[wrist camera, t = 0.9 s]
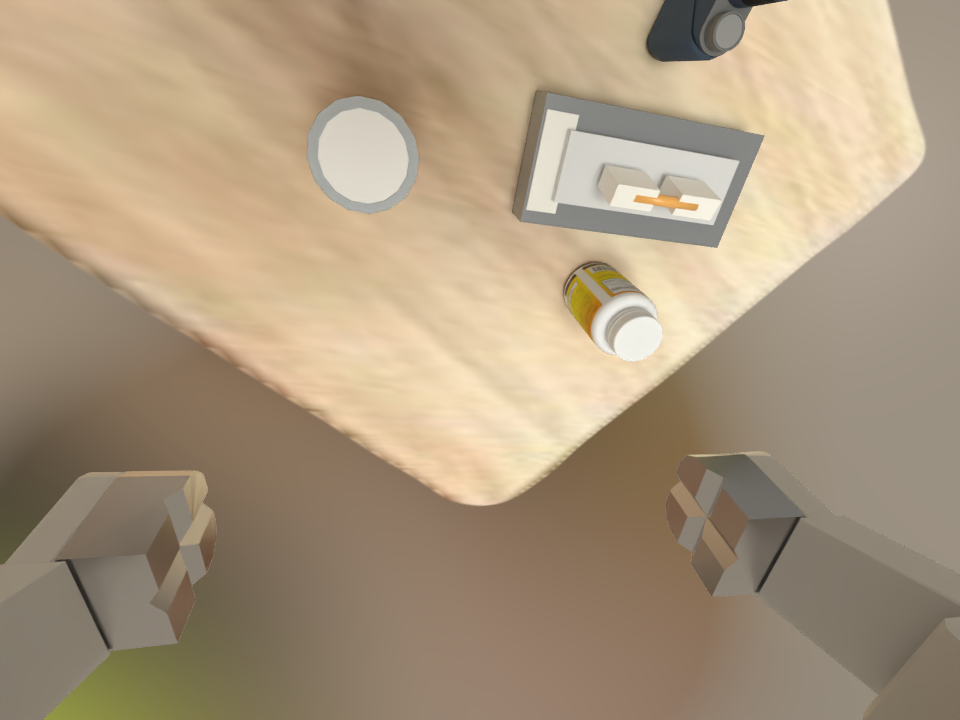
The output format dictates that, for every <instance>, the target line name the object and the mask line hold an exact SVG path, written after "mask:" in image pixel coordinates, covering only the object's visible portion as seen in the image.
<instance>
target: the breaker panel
mask: <svg viewBox="0 0 960 720" xmlns="http://www.w3.org/2000/svg"><path fill="white" fill-rule="evenodd" d="M763 138H764V135H759V134H754V133H749V132H744V131H738V130H733V129H728V128H723V127H718V126H713V125H708V124H703V123H698V122H693V121H688V120H683V119H678V118H673V117H668V116H663V115H658V114H653V113H648V112H643V111H638V110H633V109H628V108H623V107H618V106H613V105H608V104H603V103H598V102H593V101H588V100H583V99H578V98H573V97H568V96H563V95H558V94H553V93H548V92H541V91H536V94H535V99H534V104H533V110H532V115H531V120H530V125H529V130H528V135H527V140H526V145H525V150H524V155H523V160H522V165H521V170H520V175H519V180H518V185H517V190H516V195H515V200H514V205H513V210H512V213H513V214H514V215H515V216H516V217H517V218H518V219H519V221H520V222H527V223H534V224H542V225H549V226H557V227H564V228H572V229H579V230H587V231H594V232H602V233H609V234H617V235H625V236H632V237H640V238H647V239H655V240H662V241H670V242H677V243H685V244H692V245H700V246H707V247H715V248H717V247H718V245H719V242H720V240H721V237H722V235H723V233H724V230H725V228H726V226H727V223H728V221H729V219H730V216H731V214H732V211H733V209H734V207H735V204H736V202H737V200H738V197H739V195H740V193H741V190H742V188H743V185H744V183H745V181H746V178H747V176H748V174H749V171H750V169H751V167H752V164H753V162H754V160H755V157H756V155H757V152H758V150H759V148H760V145H761V143H762V141H763ZM606 165H609V166H615V167H620V168H626V169H632V170H638V171H644V172H646V173H647V174H648V176H649V177H650V178H651V180H652V181H653V182H654V183H655V185H656V186H657V187H658V188H659V190H660V188H661V186H662V184H663V182H664V180H665V178H666V176H667V175H668V176H674V177H680V178H686V179H692V180H698V181H704V182H705V183H706V184H707V185H708V186H709V187H710V189H711V190H712V191H713V192H714V193H715V194H716V195H717V196H718V197H719V198H720V199H721V200H722V201H721V203H720V205H719V206H718V208H717V210H716V211H715V213H714V215H713V216H712V218H711V220H703V219H696V218H689V217H683V216H676V215H672V214H671V213H670V212H669V210H668V209H667V208H666V207H661V206H654V205H653V207H652V209H651V211H650V212H649V211H642V210H635V209H628V208H621V207H615V206H609V204H608V202H607V201H606V199H605V197H604V196H603V194H602V192H601V191H600V189H599V188H598V183H599V181H600V178H601V176H602V173H603V171H604V168H605V166H606Z"/></svg>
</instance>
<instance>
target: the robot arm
mask: <svg viewBox="0 0 960 720" xmlns="http://www.w3.org/2000/svg"><path fill="white" fill-rule="evenodd" d="M677 474H678V476H679V478H680V480H681V481H680V482H679V483H678V484H677V485H676V486H674V487H673V488H672V489H671V490H670V492H669V495H668V498H667V501H666V517H667V521H668V525H669V527H670V530H671V532H672V534H673V535H674V537H675V539H676V540H677V542H678V543H679V544H681V545H682V546H684V547H685V548H687V549H688V550H690V551H691V552H692V556H691V565H692V566H693V568H694V569H695V571H696V573H697V574H698V575H699V577H700V579H701V580H702V582H703V584H704V585H705V587H706V588H707V590H708V591H709V593H710V595H711V596H712V597H717V596H735V595H753V594H758V596H757V597H758V598H759V599H760V600H762V601H763V602H764V603H765V604H767V605H768V606H769V607H770V608H771V609H773V610H774V611H775V612H777V613H778V614H779V615H780V616H781V617H783V618H784V619H785V620H786V621H788V622H789V623H790V624H791V625H792V626H794V627H795V628H796V629H797V630H799V631H800V632H801V633H802V634H804V635H805V636H806V637H807V638H809V639H810V640H811V641H812V642H814V643H815V644H816V645H817V646H818V647H820V648H821V649H822V650H823V651H825V652H826V653H827V654H828V655H830V656H831V657H832V658H833V659H835V660H836V661H837V662H838V663H839V664H841V665H842V666H843V667H845V668H846V669H847V670H848V671H849V672H851V673H852V674H853V675H854V676H856V677H857V678H858V679H859V680H861V681H862V682H863V683H864V684H866V685H867V686H868V687H869V688H871V689H872V690H873V691H874V692H875V693H877V694H878V696H877V697H876V698H875V699H874V700H873V701H872V702H871V704H870V705H869V706H868V707H867V708H866V709H865V711H864V712H863V720H960V574H959V573H957V572H955V571H954V570H952V569H949V568H948V567H946V566H943V565H941V564H940V563H937V562H936V561H934V560H932V559H930V558H927V557H926V556H924V555H922V554H920V553H918V552H915V551H914V550H912V549H910V548H907V547H906V546H903V545H901V544H900V543H898V542H896V541H893V540H892V539H890V538H888V537H886V536H884V535H881V534H879V533H878V532H876V531H874V530H871V529H870V528H868V527H866V526H864V525H861V524H859V523H858V522H856V521H853V520H851V519H850V518H847V517H846V516H835V515H834V514H833V513H832V512H831V511H830V510H829V509H828V508H827V507H826V506H825V505H824V504H823V503H822V502H821V501H819V499H817V498H816V497H815V496H814V495H813V494H812V493H811V492H810V491H809V490H808V489H807V488H806V487H805V486H804V485H803V484H802V483H800V481H799V480H798V479H796V478H795V477H794V476H793V475H792V474H791V473H790V472H789V471H788V470H787V469H786V468H785V467H784V466H783V465H782V464H781V463H780V462H779V461H778V460H777V459H776V458H775V457H773V456H772V455H770V454H768V453H765V452H763V451H759V452H740V453H736V454H735V453H729V454H704V455H687V456H685V458H683V459H682V460H681V462H680V464H679V467H678V470H677ZM207 491H208V488H207V484H206V481H205V478H204V474H202V473H200V472H198V471H127V472H94V473H92V472H91V473H88V474H85V475H84V476H81V477H79V478H78V479H77V480H76V481H75V482H74V483H73V485H72V486H71V487H70V488H69V489H68V490H67V492H66V493H65V494H64V495H63V496H62V497H61V499H60V500H59V501H58V502H57V503H56V504H55V506H54V507H53V508H52V509H51V510H50V511H49V513H48V514H47V515H46V516H45V517H44V518H43V519H42V521H41V522H40V523H39V524H38V525H37V526H36V528H35V529H34V530H33V531H32V532H31V534H30V535H29V536H28V537H27V538H26V539H25V541H24V542H23V543H22V544H21V545H20V546H19V548H18V549H17V550H16V551H15V552H14V553H13V555H12V556H11V557H10V558H9V559H8V560H7V561H6V563H5V564H4V565H0V720H43V719H44V718H45V717H46V716H47V715H48V714H49V713H50V712H51V711H52V710H53V709H54V708H55V707H56V706H58V704H60V703H61V702H62V701H63V699H65V698H66V697H67V696H68V695H69V694H70V693H71V692H72V691H73V690H74V689H75V688H76V687H77V686H78V685H79V684H80V683H81V682H82V681H83V680H84V679H85V678H86V677H87V676H88V675H89V674H90V673H91V672H93V671H94V670H95V668H97V667H98V666H99V665H100V663H102V662H103V661H104V660H105V659H106V658H107V657H108V656H109V655H110V653H109V651H114V650H122V649H131V648H140V647H149V646H158V645H166V644H175V643H178V641H179V639H180V636H181V634H182V632H183V629H184V627H185V624H186V622H187V619H188V617H189V615H190V612H191V610H192V607H193V605H194V602H195V600H196V599H195V595H194V592H193V588H192V585H193V584H194V583H195V582H196V581H198V580H199V579H200V578H201V577H202V576H204V575H205V574H206V573H207V571H208V568H209V566H210V563H211V560H212V557H213V554H214V548H215V543H216V536H217V535H216V520H215V516H214V512H213V510H211V509H210V508H209V507H207V506H206V505H205V504H203V503H202V502H203V500H204V498H205V496H206V493H207Z"/></svg>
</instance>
